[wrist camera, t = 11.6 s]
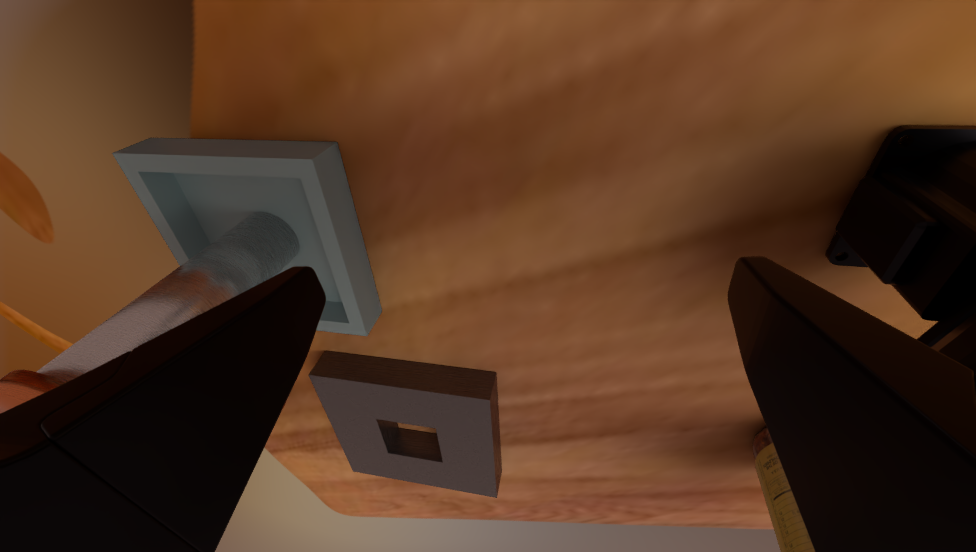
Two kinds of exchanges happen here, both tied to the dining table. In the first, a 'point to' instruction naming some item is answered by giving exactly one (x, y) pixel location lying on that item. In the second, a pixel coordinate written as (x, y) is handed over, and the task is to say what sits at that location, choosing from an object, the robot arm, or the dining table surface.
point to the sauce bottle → (779, 497)
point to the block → (414, 420)
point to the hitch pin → (168, 303)
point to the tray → (261, 208)
